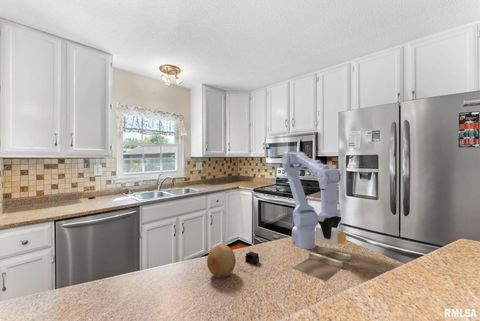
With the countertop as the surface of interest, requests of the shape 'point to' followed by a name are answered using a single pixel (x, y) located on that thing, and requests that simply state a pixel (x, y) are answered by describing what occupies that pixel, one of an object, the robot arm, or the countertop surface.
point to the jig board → (323, 263)
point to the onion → (221, 260)
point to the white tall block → (336, 236)
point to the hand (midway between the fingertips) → (329, 237)
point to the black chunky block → (252, 257)
